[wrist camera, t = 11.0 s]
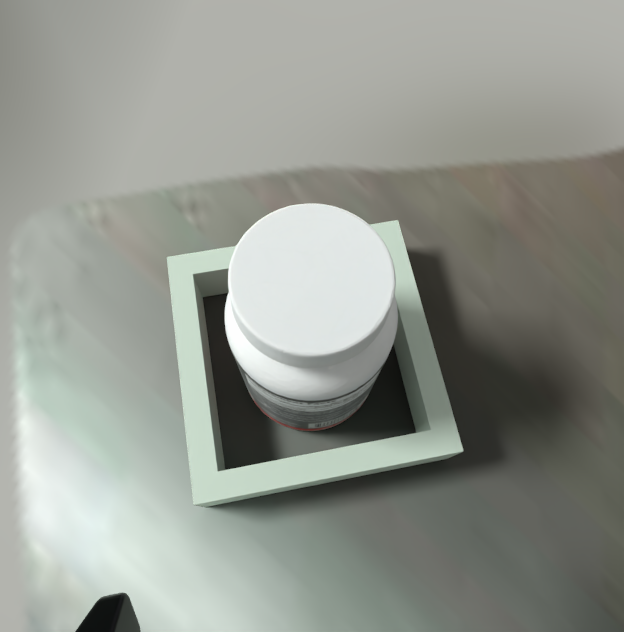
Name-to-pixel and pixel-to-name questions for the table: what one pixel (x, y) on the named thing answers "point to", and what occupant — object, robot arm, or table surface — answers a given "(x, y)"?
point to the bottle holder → (320, 467)
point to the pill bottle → (310, 313)
